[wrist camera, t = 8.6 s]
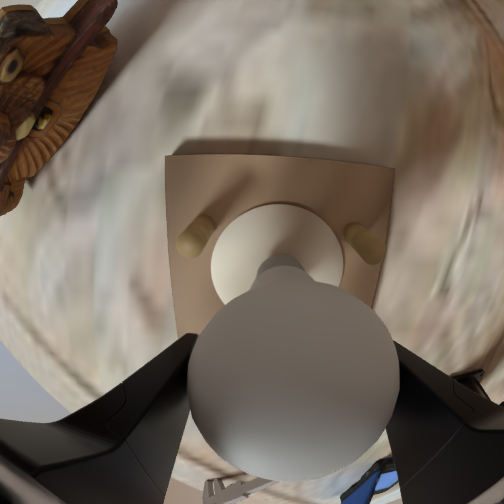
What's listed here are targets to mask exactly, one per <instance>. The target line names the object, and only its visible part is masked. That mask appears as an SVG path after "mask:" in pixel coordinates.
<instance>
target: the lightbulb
mask: <svg viewBox="0 0 504 504" xmlns="http://www.w3.org/2000/svg"><path fill="white" fill-rule="evenodd" d="M399 390H400V379H399V360H398V356H397V352H396V348H395V345H394V342H393V340H392V337H391V334H390V333H389V331H388V329H387V328H386V326H385V324H384V323H383V321H382V320H381V319H380V318H379V316H378V315H377V314H376V313H375V311H374V310H373V309H371V308H370V307H369V306H367V305H366V304H365V303H364V302H362V301H361V300H360V299H358V298H357V297H355V296H354V295H353V294H351V293H350V292H348V291H346V290H344V289H341V288H339V287H337V286H334V285H332V284H327V283H322V282H317V281H314V279H313V278H312V277H311V276H310V275H309V274H308V273H306V272H305V269H304V268H303V266H302V265H301V263H300V262H299V261H298V260H296V259H295V258H293V257H291V256H287V255H276V256H272V257H270V258H268V259H266V260H265V261H264V262H263V263H262V264H261V265H260V267H259V269H258V271H257V275H256V278H255V280H254V282H253V283H252V285H251V287H250V289H249V291H247V292H245V293H243V294H241V295H240V296H238V297H236V298H234V299H232V300H231V301H230V302H228V303H227V304H226V305H225V306H224V307H222V308H221V309H220V310H219V311H218V312H217V313H216V314H215V316H214V317H213V318H212V319H211V321H210V322H209V323H208V325H207V326H206V327H205V328H204V330H203V331H202V332H201V334H200V335H199V336H198V339H197V341H196V343H195V346H194V348H193V351H192V354H191V357H190V360H189V363H188V372H187V395H188V400H189V405H190V410H191V414H192V418H193V420H194V422H195V424H196V426H197V427H198V429H199V431H200V433H201V434H202V436H203V438H204V439H205V441H206V442H207V443H208V444H209V446H210V447H211V448H212V449H213V450H214V451H215V452H216V453H217V454H218V455H219V456H220V457H221V458H222V459H223V460H224V461H226V462H228V463H229V464H231V465H233V466H235V467H236V468H238V469H240V470H242V471H244V472H246V473H248V474H250V475H253V476H256V477H260V478H264V479H268V480H273V481H280V482H300V481H308V480H313V479H318V478H321V477H324V476H327V475H330V474H332V473H334V472H336V471H338V470H340V469H342V468H344V467H346V466H348V465H349V464H351V463H353V462H354V461H355V460H357V459H358V458H359V457H361V456H362V455H363V454H364V453H365V452H366V451H367V450H368V449H369V448H370V447H371V446H372V445H373V444H374V443H375V442H376V441H377V440H378V439H379V437H380V436H381V434H382V433H383V431H384V429H385V428H386V426H387V424H388V422H389V420H390V419H391V417H392V414H393V410H394V407H395V404H396V401H397V397H398V394H399Z"/></svg>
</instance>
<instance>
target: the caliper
mask: <svg viewBox="0 0 504 504" xmlns="http://www.w3.org/2000/svg"><path fill="white" fill-rule="evenodd" d="M278 482H280V481H273V480H268V479H264V478H260V477H258V478H256V479H254V480H252V481H249V482H247V483H245V482H243V481H237V482H236V483H234V484H230V485H229V486H228V487H226V489H225V486H224V484H223V482H222V480H220V479H217V478H214V490H215V495H214V491H213V482H211V481H209V480H207V481H205V484H204V491H203V504H232V503H236V502H238V501H241V500H244V499H246V498H248V495H250V494H252V493H255V492H257V491H260V490H262V489H265V488H267V487H269V486H272V485H274V484H276V483H278Z"/></svg>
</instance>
